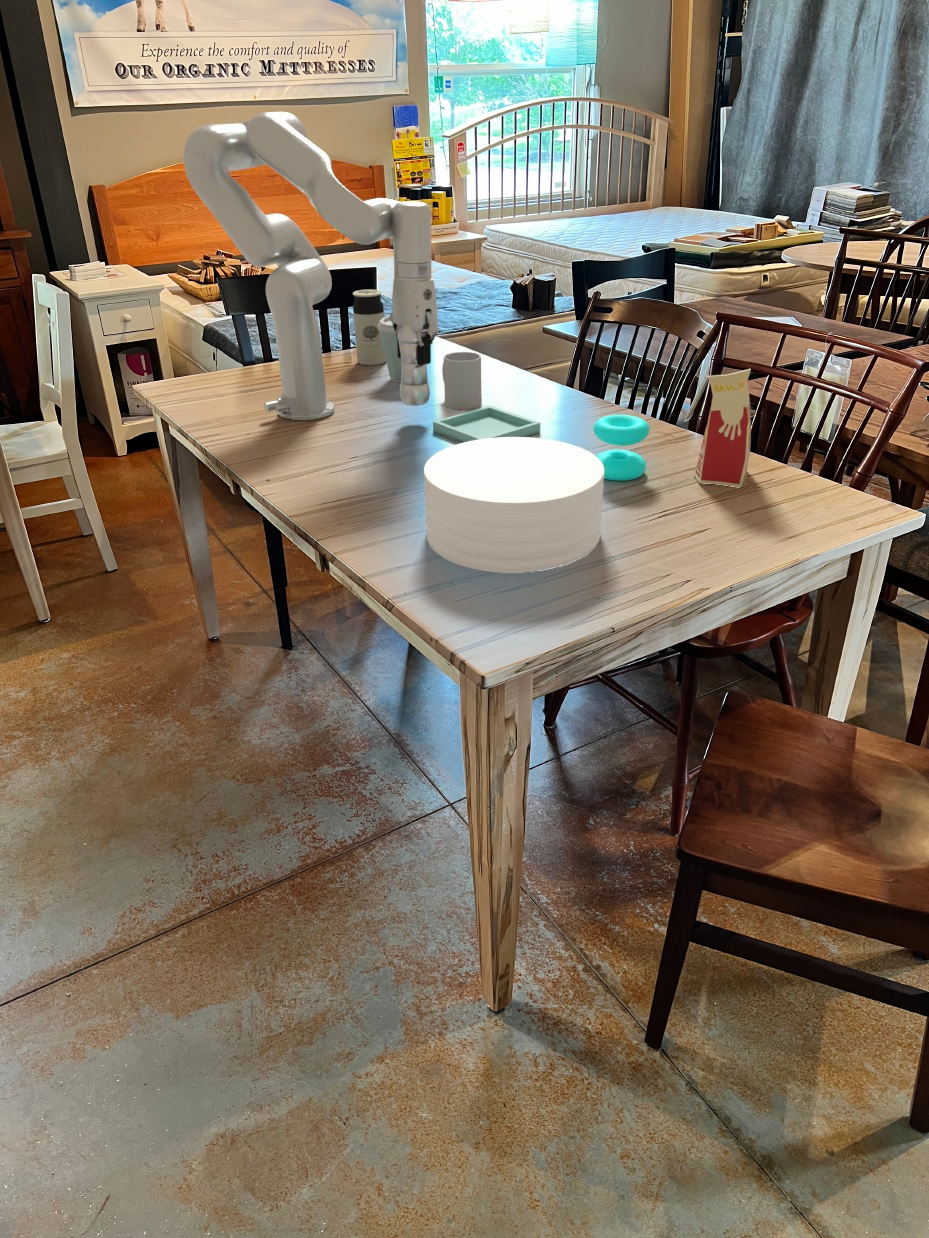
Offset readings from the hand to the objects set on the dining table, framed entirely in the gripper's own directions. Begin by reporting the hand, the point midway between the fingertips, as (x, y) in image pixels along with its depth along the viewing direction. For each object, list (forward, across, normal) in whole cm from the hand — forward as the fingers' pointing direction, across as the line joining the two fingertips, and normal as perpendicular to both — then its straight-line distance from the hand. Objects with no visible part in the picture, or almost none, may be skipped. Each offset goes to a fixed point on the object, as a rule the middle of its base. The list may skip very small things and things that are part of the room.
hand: (414, 359), depth 183 cm
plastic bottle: (+10, 0, 0) cm, 10 cm away
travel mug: (+15, +48, -22) cm, 55 cm away
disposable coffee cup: (+14, +29, -18) cm, 37 cm away
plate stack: (+13, -56, +22) cm, 62 cm away
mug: (+13, +4, -16) cm, 21 cm away
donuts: (+12, -50, -10) cm, 52 cm away
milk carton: (+11, -64, -22) cm, 69 cm away
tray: (+13, -16, -7) cm, 22 cm away
